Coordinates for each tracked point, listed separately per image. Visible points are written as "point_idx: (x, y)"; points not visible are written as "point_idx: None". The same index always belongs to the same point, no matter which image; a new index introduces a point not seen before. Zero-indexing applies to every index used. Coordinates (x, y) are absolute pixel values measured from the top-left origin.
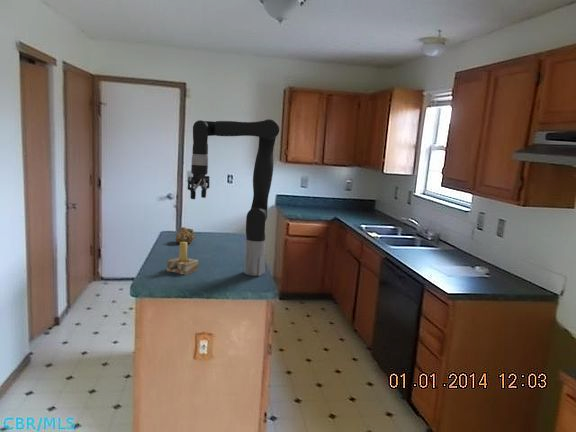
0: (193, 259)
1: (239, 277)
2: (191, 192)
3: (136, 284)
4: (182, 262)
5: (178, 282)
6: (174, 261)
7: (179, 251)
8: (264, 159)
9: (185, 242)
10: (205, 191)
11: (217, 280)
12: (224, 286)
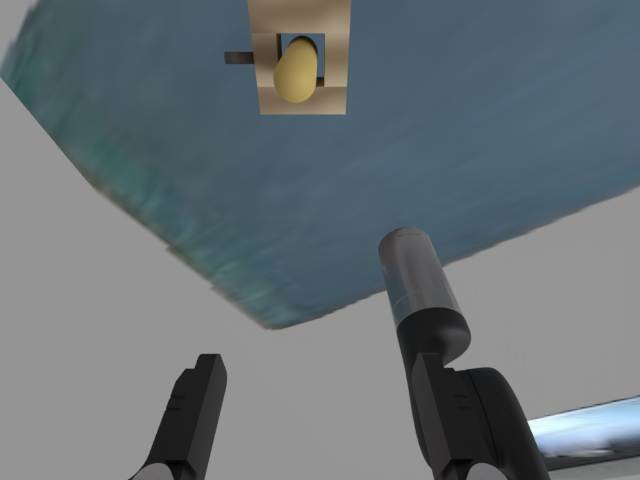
0: (344, 88)
1: (349, 236)
2: (160, 447)
3: (51, 20)
4: None
5: (192, 131)
6: (263, 36)
7: (284, 53)
8: None
9: (304, 86)
10: (435, 460)
11: (289, 207)
12: (261, 241)
